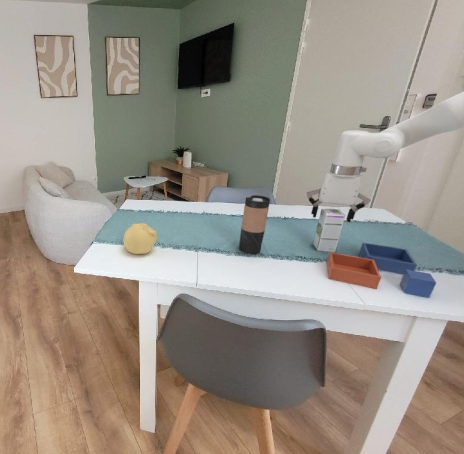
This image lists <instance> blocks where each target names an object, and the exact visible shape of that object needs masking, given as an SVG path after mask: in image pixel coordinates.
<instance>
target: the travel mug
mask: <svg viewBox="0 0 464 454" xmlns="http://www.w3.org/2000/svg"><path fill="white" fill-rule="evenodd" d="M270 201H271V198H269V197H267V196H264V195H257V194H254V195H250V196H246V197H245V201H244V207H243V214H242V219H241V225H240V235H239V244H238V249H239V251H240V252H242V253H244V254H247V255H248V254H249V255H257V254H259V253H261V250H262V249H261V248H262V246H263V240H264V236H265V232H266V227H267V219H268V214H269V209H270V203H271V202H270Z"/></svg>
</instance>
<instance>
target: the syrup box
mask: <svg viewBox="0 0 464 454" xmlns="http://www.w3.org/2000/svg"><path fill="white" fill-rule="evenodd" d="M345 219H346V214H345V213H344V212H342V211H341V210H340V209H338V208H321V210H320V214H319V217H318V222H317V225H316V229H315V233H314V237H313V241H312V246H313V247H314V248H315V249H316V251H317V252H325V253H329V252H332V253H336V251H337V248H338V244H339V241H340V237H341V233H342V231H343V226H344V223H345Z"/></svg>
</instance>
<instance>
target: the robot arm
mask: <svg viewBox="0 0 464 454" xmlns="http://www.w3.org/2000/svg"><path fill="white" fill-rule="evenodd" d="M463 128H464V91H461V92H459V93H457V94H455V95H452V96H450V97H449V98H447V99H444V100H442V101H440V102H438V103H436V104H435V105H433V106H431V107H430V108H428V109H425V110H424V111H421V112H420V113H418V114H416V115H413V116H411V117H409V118H407V119H405V120H402V121H400V122H398V123H396V124H395V125H392V126H390V127H387V128H386V129H383V130H382V131H379V132H370V131H367V130H361V129H360V130H359V129H358V130H357V129H356V130H355V129H353V130H344V131H343V132H341V133H340V135H339V138H338V140H337V141H338V142H337V144H336V149H335V152H334V156H333V160H332V164H331V168H330V170H329V171H327V172H326V174H325V176H324V178H323V180H322V182H321V186H320V188H317V189H314V190H311V191H310V190H309V191H307V192H306V197H307V199H308V201H309V203H310V204H311V205H312V208H311V215H312V218H314V219H315V218H317V214H318V211H319V206H320V205H321V204H322V203H324V204H334V205H342V206H349V207H350V208H349V209H348V212H347V216H346V222H347V223H351V221H352V220H354V219H355V215H356V212H358V211H359V210H361V209H363V208H365V207H366V205H368V204H369V203H370V202H371V198H370V197H368V196H366V195H364V194H363V193H361V192H360V188H361V181H362V175H361V173H366V172H367V169H368V168H367V167H363V166H362V165H363V162H364V159H365V157H370V158H375V159H387V158H388V159H389V158H391V157H393V156H395V155H397V154H398V153H399V152H400V150H402V149H404V148H406V147H409V146H412V145H414V144H416V143H418V142H421V141H424V140H426V139H429V138H431V137H434V136H437V135H440V134H445V133H448V132H454V131H457V130H460V129H463ZM314 195H318V196H317V197H318V198H317V199H315V198H314V197H313V196H314ZM357 199H360V200H362V201H361V202H359V203H357ZM356 203H357V204H356Z"/></svg>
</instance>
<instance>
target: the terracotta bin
mask: <svg viewBox="0 0 464 454" xmlns="http://www.w3.org/2000/svg"><path fill="white" fill-rule="evenodd" d="M326 269H327V277H328V278H327V279H328V280H333V281H336V282H342V283H347V284H351V285H357V286H361V287H366V288H370V289H374V290H377V289H378V287H379V284H380V282H381V280H382V275H381V273H380V270H378V268H377V266H376V263H375V261H374V260H371V259H367V258H361V256H354V255H348V254H342V253H338V252H328V256H327V259H326Z"/></svg>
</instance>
